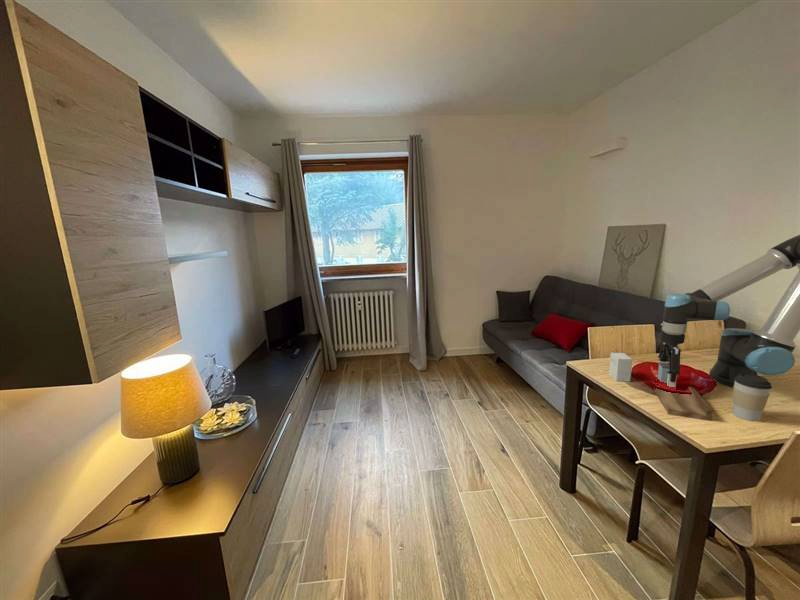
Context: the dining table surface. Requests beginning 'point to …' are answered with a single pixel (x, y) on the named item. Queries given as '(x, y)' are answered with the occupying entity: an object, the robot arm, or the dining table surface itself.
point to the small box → (620, 367)
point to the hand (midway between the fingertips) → (665, 382)
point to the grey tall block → (663, 372)
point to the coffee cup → (750, 396)
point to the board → (685, 404)
